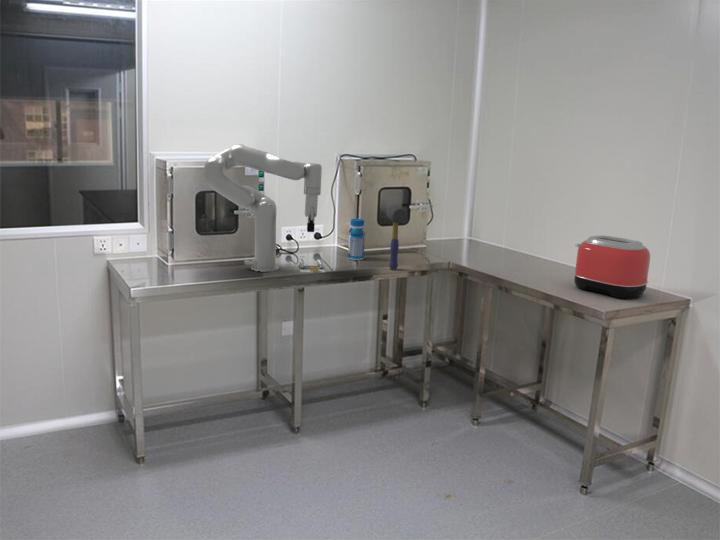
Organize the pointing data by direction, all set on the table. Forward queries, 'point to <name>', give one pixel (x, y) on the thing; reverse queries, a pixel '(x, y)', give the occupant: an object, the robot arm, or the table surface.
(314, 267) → the brass nut
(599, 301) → the table surface
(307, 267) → the spacer board
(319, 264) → the spacer rows
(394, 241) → the rubber mallet
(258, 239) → the robot arm
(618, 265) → the toaster
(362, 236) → the beverage bottle
